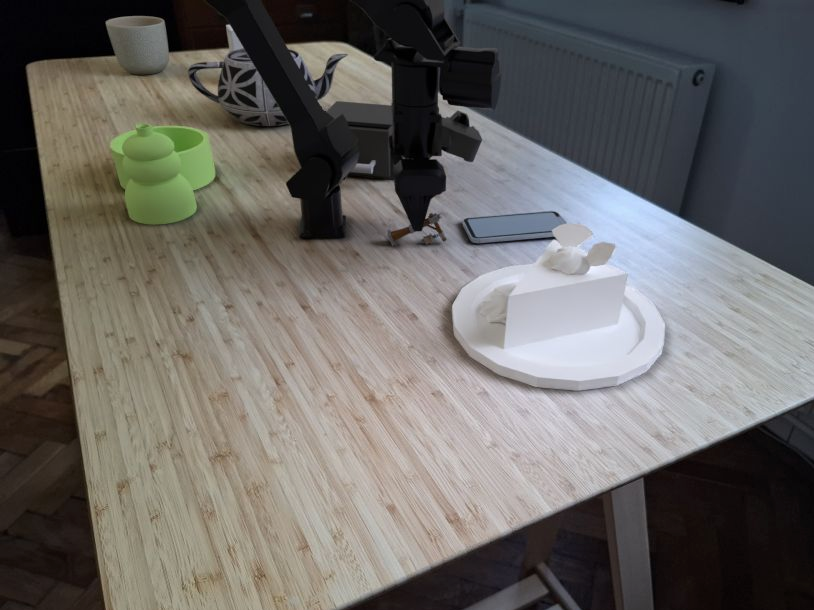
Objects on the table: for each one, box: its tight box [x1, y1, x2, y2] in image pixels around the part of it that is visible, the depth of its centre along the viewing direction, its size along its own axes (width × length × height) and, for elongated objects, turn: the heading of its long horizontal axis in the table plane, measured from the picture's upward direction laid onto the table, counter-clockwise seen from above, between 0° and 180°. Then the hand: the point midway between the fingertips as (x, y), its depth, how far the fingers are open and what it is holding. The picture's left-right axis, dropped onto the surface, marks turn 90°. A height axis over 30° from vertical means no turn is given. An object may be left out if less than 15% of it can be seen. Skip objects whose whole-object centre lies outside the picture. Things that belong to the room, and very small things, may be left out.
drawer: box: [348, 125, 391, 177], centre depth 114 cm, size 13×11×8 cm
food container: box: [109, 123, 216, 226], centre depth 104 cm, size 25×14×13 cm, turn 16°
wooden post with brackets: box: [386, 212, 447, 247], centre depth 96 cm, size 2×8×4 cm, turn 94°
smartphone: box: [461, 210, 568, 244], centre depth 101 cm, size 7×1×15 cm
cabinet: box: [325, 100, 395, 180], centre depth 117 cm, size 10×12×9 cm
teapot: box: [187, 48, 350, 127], centre depth 135 cm, size 19×31×15 cm, turn 104°
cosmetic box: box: [225, 24, 243, 52], centre depth 155 cm, size 6×4×12 cm
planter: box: [105, 15, 170, 76], centre depth 160 cm, size 12×12×11 cm
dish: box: [451, 222, 666, 392], centre depth 78 cm, size 25×25×11 cm
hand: (415, 216), depth 95 cm, fingers open, 9 cm apart
